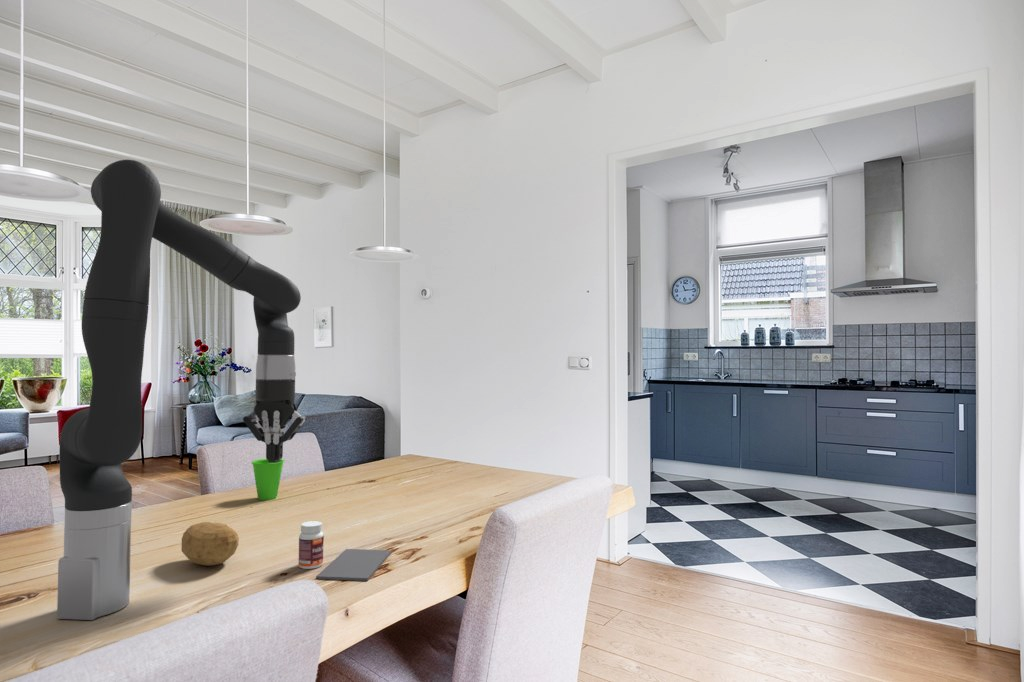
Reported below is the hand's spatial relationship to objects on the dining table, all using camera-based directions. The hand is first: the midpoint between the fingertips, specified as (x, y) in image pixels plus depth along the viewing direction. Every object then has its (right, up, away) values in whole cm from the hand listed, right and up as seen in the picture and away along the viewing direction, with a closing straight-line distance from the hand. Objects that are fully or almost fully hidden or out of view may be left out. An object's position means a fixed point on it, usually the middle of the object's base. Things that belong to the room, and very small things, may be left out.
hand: (274, 462), depth 121 cm
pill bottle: (+8, -21, -1) cm, 22 cm away
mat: (+17, -21, -1) cm, 27 cm away
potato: (-13, -21, -1) cm, 25 cm away
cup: (-24, -22, +54) cm, 63 cm away
